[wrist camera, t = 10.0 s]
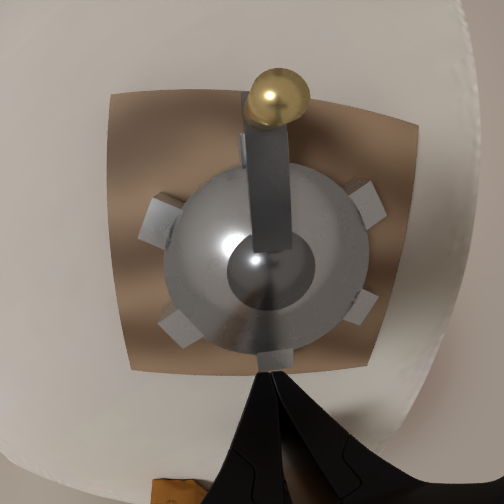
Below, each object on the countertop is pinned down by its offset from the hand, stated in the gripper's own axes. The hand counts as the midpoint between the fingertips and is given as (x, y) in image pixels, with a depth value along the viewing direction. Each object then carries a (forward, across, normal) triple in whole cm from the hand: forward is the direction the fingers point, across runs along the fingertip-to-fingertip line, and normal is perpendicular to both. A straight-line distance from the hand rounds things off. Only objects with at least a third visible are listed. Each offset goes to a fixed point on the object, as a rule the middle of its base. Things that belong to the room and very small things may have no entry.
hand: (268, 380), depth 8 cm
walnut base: (+12, -1, -1) cm, 12 cm away
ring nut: (+10, -1, -1) cm, 10 cm away
